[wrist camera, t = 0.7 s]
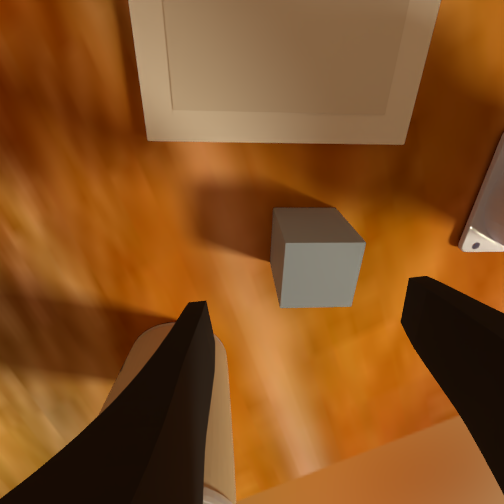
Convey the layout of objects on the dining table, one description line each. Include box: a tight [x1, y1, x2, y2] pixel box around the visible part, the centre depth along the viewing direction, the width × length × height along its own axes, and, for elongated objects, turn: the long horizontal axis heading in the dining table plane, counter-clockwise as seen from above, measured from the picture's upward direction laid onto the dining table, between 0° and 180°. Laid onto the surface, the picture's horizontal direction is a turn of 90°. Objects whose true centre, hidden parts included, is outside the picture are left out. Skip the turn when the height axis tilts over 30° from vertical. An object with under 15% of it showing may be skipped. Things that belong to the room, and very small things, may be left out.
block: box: [270, 208, 366, 308], centre depth 18 cm, size 4×4×5 cm
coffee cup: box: [98, 322, 236, 504], centre depth 19 cm, size 9×9×12 cm
